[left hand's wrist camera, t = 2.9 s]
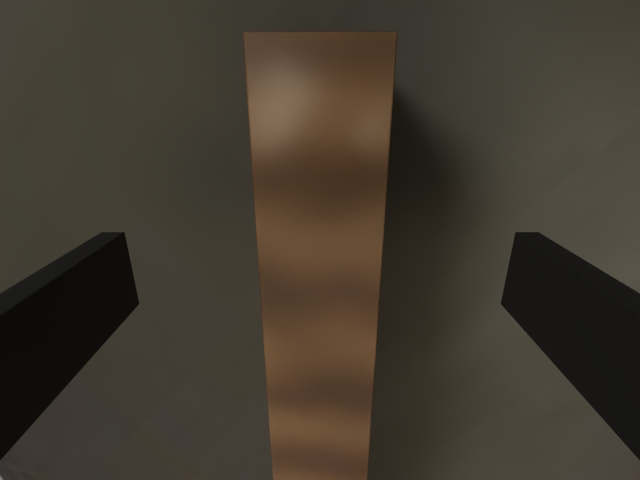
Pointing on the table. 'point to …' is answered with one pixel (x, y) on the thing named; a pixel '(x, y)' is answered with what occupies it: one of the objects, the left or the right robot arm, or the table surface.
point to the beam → (320, 237)
